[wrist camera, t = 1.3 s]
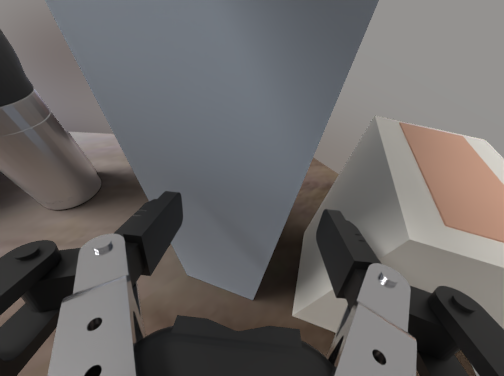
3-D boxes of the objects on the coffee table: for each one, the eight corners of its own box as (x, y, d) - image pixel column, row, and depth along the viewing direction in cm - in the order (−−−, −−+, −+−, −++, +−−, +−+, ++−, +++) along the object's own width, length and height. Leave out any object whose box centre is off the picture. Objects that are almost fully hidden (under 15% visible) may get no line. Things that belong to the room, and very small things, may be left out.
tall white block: (361, 342, 24) (657, 312, 7) (292, 315, 25) (411, 238, 9) (355, 249, 32) (486, 138, 16) (303, 232, 34) (375, 114, 17)
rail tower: (252, 300, 26) (691, -748, 1) (187, 275, 27) (-195, -461, 3) (274, 223, 34) (386, -109, 10) (223, 206, 36) (210, -120, 11)
